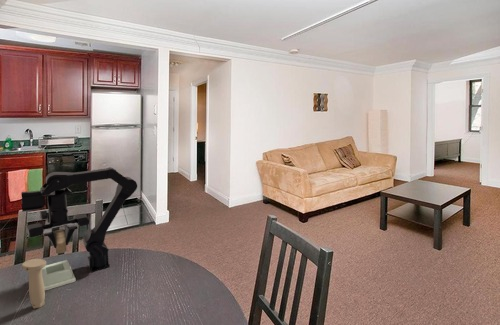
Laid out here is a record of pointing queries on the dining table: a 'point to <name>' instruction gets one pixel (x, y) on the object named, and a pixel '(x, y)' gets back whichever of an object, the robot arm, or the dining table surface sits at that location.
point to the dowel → (60, 241)
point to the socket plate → (57, 275)
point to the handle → (35, 281)
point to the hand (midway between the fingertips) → (60, 246)
